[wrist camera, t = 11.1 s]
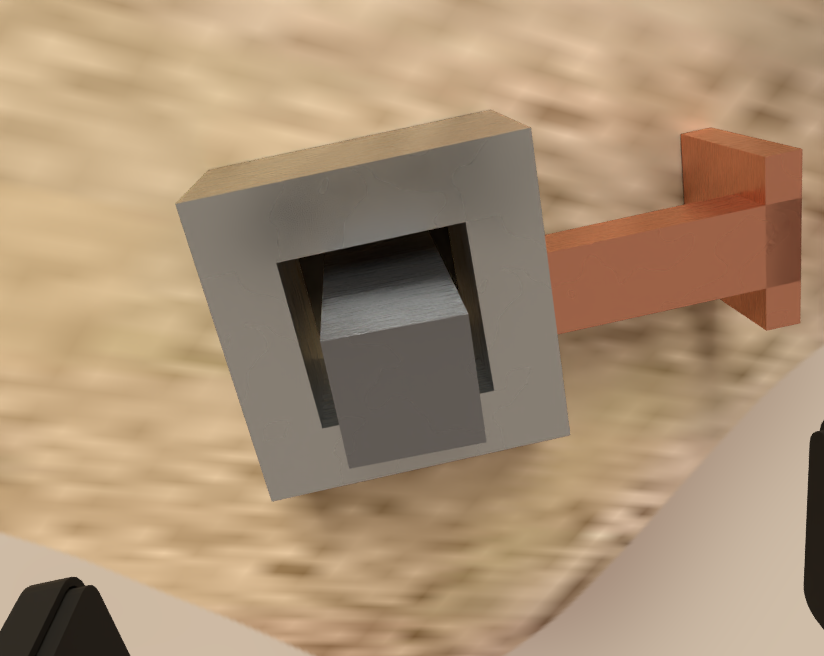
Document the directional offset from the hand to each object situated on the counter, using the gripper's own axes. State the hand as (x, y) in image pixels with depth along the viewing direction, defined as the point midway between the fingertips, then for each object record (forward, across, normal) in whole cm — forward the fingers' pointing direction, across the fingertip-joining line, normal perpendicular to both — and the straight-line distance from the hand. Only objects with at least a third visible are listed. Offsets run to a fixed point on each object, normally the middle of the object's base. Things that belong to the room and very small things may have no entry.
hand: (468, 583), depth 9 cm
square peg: (+16, +1, +1) cm, 16 cm away
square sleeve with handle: (+16, -3, +1) cm, 16 cm away
